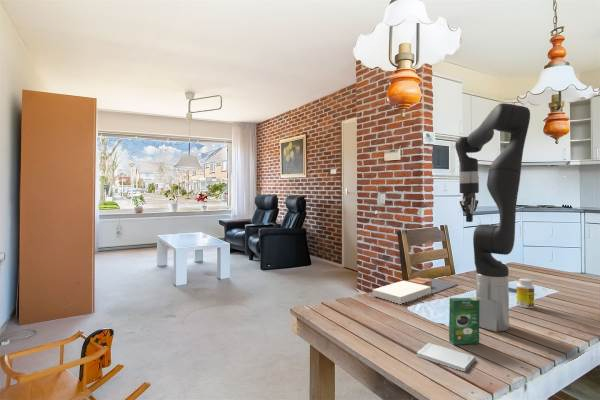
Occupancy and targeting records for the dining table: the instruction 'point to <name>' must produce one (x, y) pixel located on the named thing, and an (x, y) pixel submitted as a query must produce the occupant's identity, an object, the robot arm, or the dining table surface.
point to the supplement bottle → (525, 293)
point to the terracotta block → (421, 281)
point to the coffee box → (464, 321)
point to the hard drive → (446, 356)
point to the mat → (440, 285)
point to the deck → (402, 291)
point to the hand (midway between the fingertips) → (469, 221)
